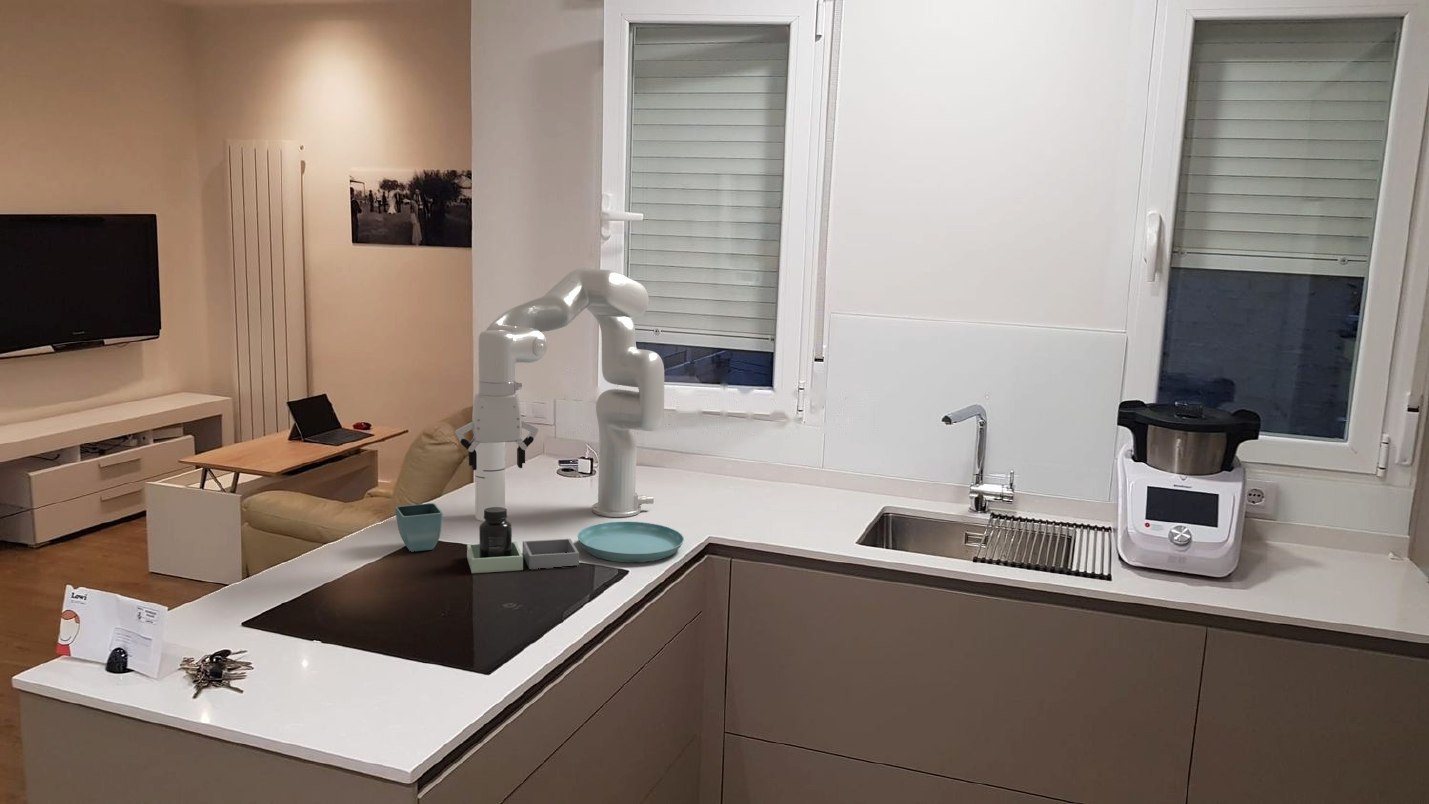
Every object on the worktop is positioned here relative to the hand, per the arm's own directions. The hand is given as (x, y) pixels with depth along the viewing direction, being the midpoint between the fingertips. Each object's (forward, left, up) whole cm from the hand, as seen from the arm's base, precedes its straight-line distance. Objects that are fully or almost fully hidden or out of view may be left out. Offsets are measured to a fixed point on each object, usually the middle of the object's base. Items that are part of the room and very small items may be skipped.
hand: (497, 467), depth 225 cm
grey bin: (-11, +2, -21) cm, 24 cm away
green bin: (+1, +2, -21) cm, 21 cm away
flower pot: (+16, -12, -21) cm, 29 cm away
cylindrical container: (-2, -34, -21) cm, 40 cm away
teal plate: (-31, -3, -21) cm, 37 cm away
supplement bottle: (0, +2, -21) cm, 21 cm away
